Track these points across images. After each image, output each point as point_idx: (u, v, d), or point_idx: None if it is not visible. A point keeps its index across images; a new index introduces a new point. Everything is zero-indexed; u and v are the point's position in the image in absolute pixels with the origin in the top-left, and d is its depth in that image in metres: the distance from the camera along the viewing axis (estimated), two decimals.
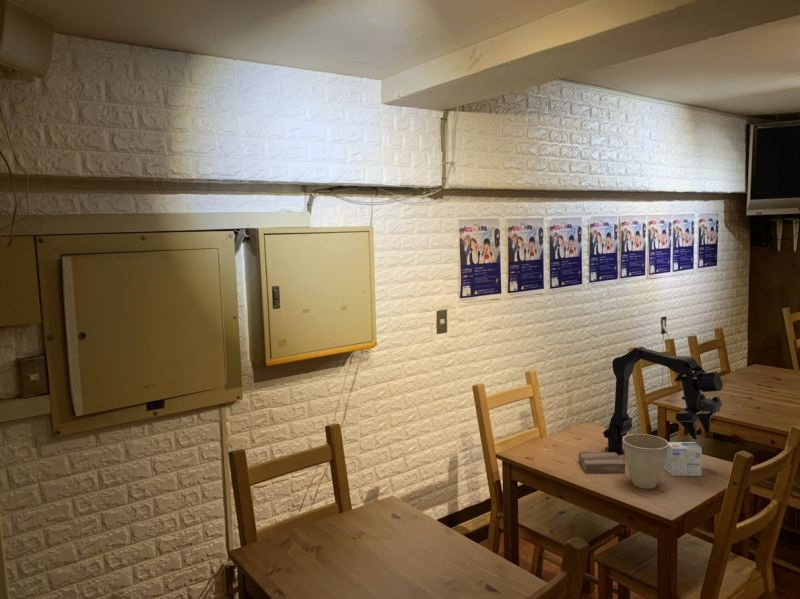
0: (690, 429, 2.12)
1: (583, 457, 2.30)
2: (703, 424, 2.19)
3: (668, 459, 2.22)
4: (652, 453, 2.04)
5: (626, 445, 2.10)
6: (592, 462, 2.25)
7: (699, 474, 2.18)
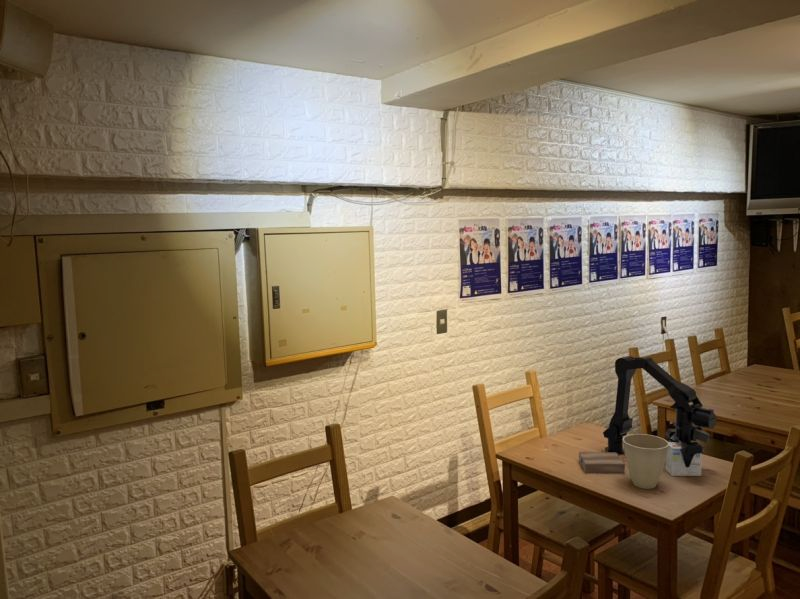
0: (688, 458, 2.16)
1: (583, 457, 2.30)
2: None
3: (668, 459, 2.22)
4: (652, 453, 2.04)
5: (626, 445, 2.10)
6: (592, 462, 2.25)
7: (699, 474, 2.18)
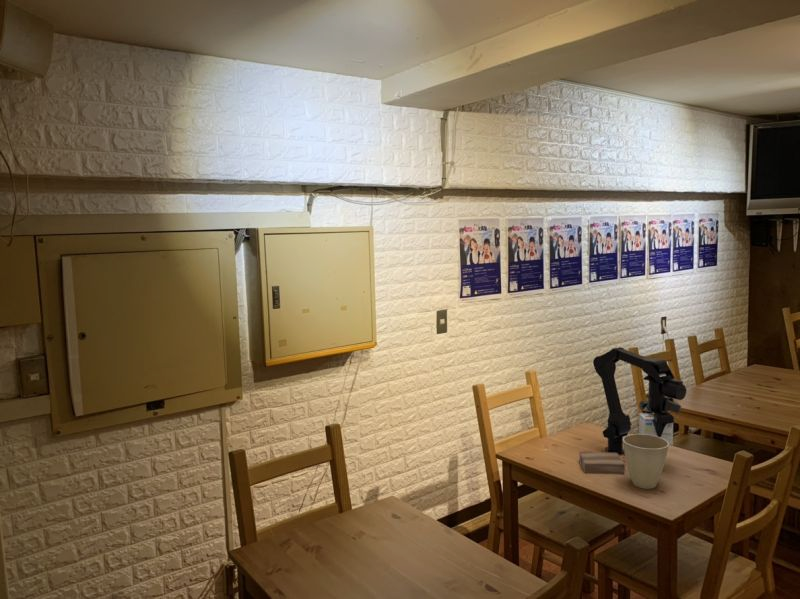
0: (660, 428, 2.22)
1: (583, 457, 2.30)
2: None
3: (640, 429, 2.27)
4: (652, 453, 2.04)
5: (626, 445, 2.10)
6: (591, 462, 2.25)
7: (671, 444, 2.24)
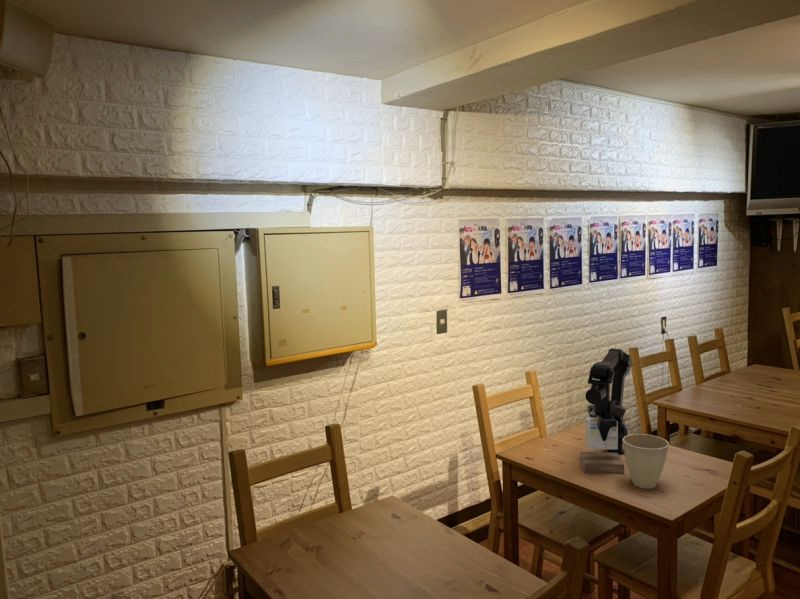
0: (604, 432, 2.23)
1: (583, 456, 2.30)
2: None
3: (587, 433, 2.29)
4: (652, 453, 2.04)
5: (626, 445, 2.10)
6: (591, 462, 2.25)
7: (616, 447, 2.25)
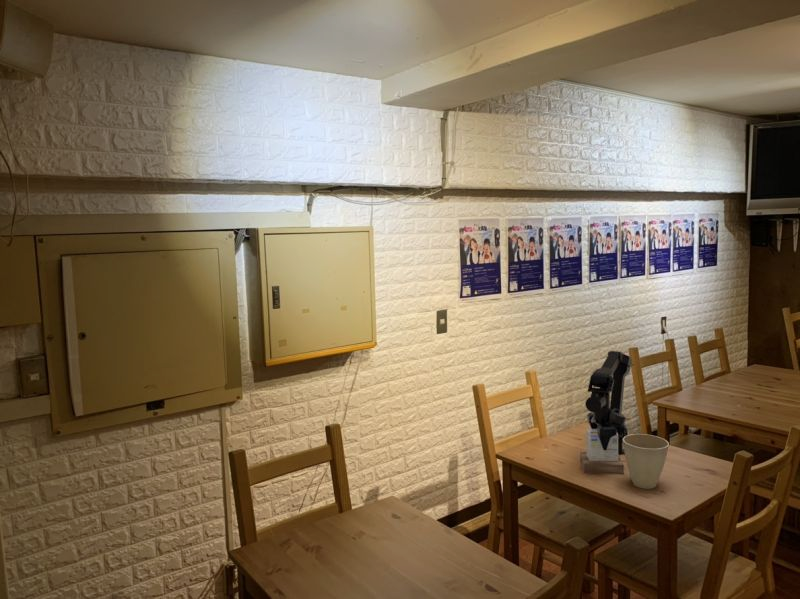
0: (605, 441, 2.22)
1: (583, 457, 2.31)
2: None
3: (587, 445, 2.29)
4: (652, 453, 2.04)
5: (626, 445, 2.10)
6: (591, 462, 2.25)
7: (616, 459, 2.25)
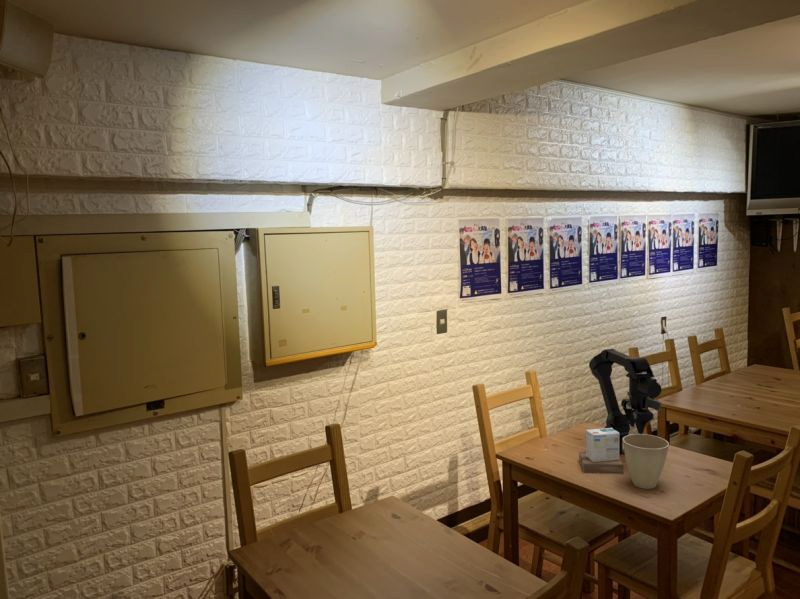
0: (641, 426, 2.24)
1: (582, 457, 2.31)
2: (630, 419, 2.34)
3: (588, 446, 2.28)
4: (652, 453, 2.04)
5: (626, 445, 2.10)
6: (590, 462, 2.26)
7: (617, 458, 2.26)
